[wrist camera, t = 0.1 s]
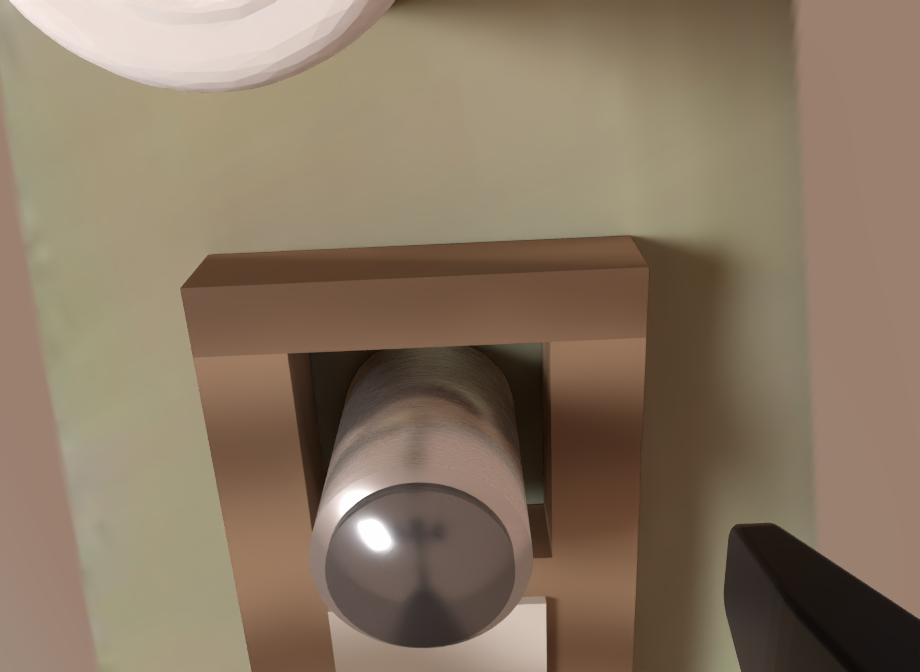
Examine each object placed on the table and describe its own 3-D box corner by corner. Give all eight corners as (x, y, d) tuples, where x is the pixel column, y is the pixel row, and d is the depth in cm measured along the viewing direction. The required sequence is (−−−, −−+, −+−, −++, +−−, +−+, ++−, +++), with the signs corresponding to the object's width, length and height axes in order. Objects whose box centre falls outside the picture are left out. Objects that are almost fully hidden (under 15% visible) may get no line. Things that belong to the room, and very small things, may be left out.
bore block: (615, 698, 29) (630, 770, 26) (285, 710, 29) (269, 783, 27) (630, 235, 23) (651, 271, 20) (207, 254, 23) (176, 292, 20)
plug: (516, 481, 26) (535, 656, 19) (353, 488, 26) (319, 665, 19) (512, 331, 24) (532, 471, 17) (336, 340, 24) (292, 481, 17)
